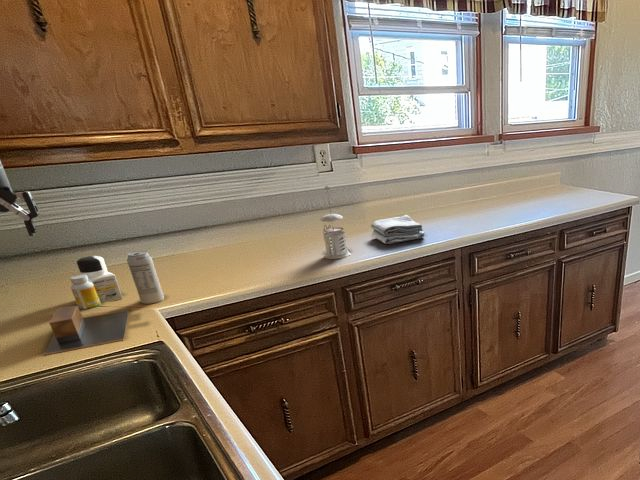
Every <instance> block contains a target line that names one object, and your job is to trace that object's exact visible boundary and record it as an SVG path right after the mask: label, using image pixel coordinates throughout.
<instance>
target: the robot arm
mask: <svg viewBox="0 0 640 480" xmlns="http://www.w3.org/2000/svg"><path fill="white" fill-rule="evenodd" d="M18 198H19V199H20V200H21V201H22V202H25V204H26V207H27V209H28V211H29V212H28V211H26V210H24V208H22V207H21V206H20V205H18V204H17V203H16V201H17V199H18ZM8 212H11V213H13V214H14V215H16V216H18V217H20V218H21V219H22V220H23V223H24V226H25V228H26V231H27V234H28V237H34V236H35V234H36V233H37V228H36V226H35V223H34V219H35V218H37V217H39V216H40V214H41V212H40V210H39V208H38V205H37V204H36V202H35V199H34V197H33V194H32V192H31V191H30V190H24V191H19V192H15V190H13V188H12V186H11V183H10V180H9V177H8V175H7V173H6V170H5V168H4V165H3V163H2V161H1V159H0V213H8Z"/></svg>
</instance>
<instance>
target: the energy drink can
mask: <svg viewBox="0 0 640 480" xmlns="http://www.w3.org/2000/svg"><path fill="white" fill-rule="evenodd" d="M126 263H127V265H128V268H129V271H130V274H131V277H132V279H133V282H134V286H135V289H136V291H137V294H138V297H139V300H140V303H141V304H145V305H151V304H152V305H153V304H157V303H160V302H162V301H164V299H165V296H164V292H163V289H162V286H161V284H160V280H159V277H158V274H157V271H156V268H155V267H156V266H155V265H154V261H153V257H152V256H151V255H150V254H149V253H148V251H147V250H137V251H136V250H135V251H131V252H129V253H127V259H126Z"/></svg>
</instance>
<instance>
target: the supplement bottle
mask: <svg viewBox="0 0 640 480" xmlns="http://www.w3.org/2000/svg"><path fill="white" fill-rule="evenodd" d="M69 279H70V282H71V286H70V290H71V292H72V295H73V297H74V300H75V302H76V305H77V306H78V308H79V310H90V309H94V308H97V307H99V306H101V305H102V302H100V300H99V298H98V295H97V292H96V290H95V287H94V285H93V283H92V282H90V281H88V277H87V275H85V274H81V273H80V274H76V275H72V276H70V278H69Z"/></svg>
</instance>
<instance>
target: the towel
mask: <svg viewBox="0 0 640 480" xmlns="http://www.w3.org/2000/svg"><path fill="white" fill-rule="evenodd" d="M370 228H371V229H372V231H371V235H372V236H373V237H374V238H375V239H377V240H378V241H380V242H382V243H384V244H385V245H393V244H398V243H403V242H408V241H413V240H419V239H424V238H425V231H424V229H423V225H422V224H421V223H419V222H416V221H414V220H413V219H412V218H411V216H409V215H408V214H404V215H400V216H394V217H388V218H382V219H376V220H374V221H373V222H372V223H371V225H370Z"/></svg>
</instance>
